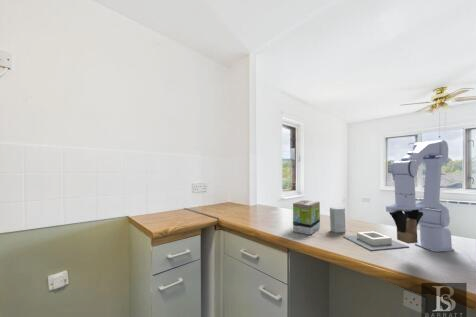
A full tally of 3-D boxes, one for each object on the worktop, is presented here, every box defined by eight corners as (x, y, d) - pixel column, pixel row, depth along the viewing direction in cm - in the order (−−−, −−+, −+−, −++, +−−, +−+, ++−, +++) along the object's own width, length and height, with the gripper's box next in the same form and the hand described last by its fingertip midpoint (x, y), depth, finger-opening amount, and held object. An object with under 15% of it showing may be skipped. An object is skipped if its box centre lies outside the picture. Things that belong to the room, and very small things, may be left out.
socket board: (376, 234, 98) (375, 228, 98) (409, 247, 83) (408, 240, 83) (343, 237, 95) (343, 230, 95) (370, 250, 80) (370, 243, 80)
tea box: (312, 235, 98) (311, 205, 99) (292, 231, 104) (291, 203, 105) (320, 227, 110) (319, 200, 111) (302, 224, 116) (301, 199, 117)
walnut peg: (406, 238, 75) (405, 217, 75) (417, 242, 71) (416, 219, 71) (397, 239, 74) (396, 217, 74) (408, 243, 70) (406, 220, 70)
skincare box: (340, 229, 106) (340, 206, 107) (346, 232, 102) (345, 208, 102) (329, 230, 106) (329, 207, 106) (334, 233, 101) (334, 208, 102)
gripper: (410, 191, 78) (412, 227, 78) (378, 192, 76) (379, 229, 75) (430, 194, 71) (432, 232, 71) (395, 195, 69) (397, 235, 68)
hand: (406, 231), depth 72 cm, fingers closed on walnut peg, 4 cm apart
